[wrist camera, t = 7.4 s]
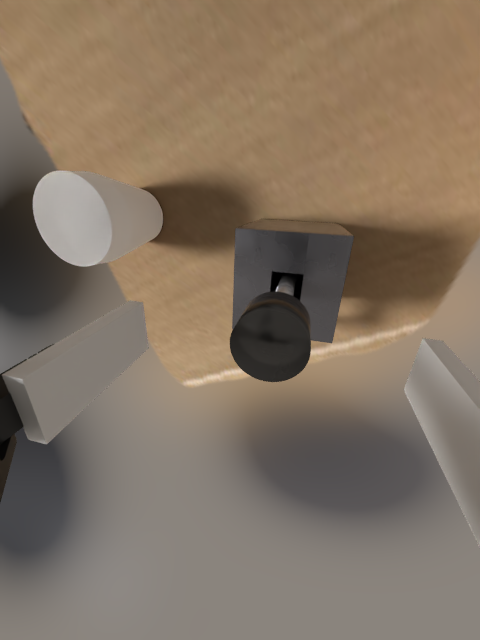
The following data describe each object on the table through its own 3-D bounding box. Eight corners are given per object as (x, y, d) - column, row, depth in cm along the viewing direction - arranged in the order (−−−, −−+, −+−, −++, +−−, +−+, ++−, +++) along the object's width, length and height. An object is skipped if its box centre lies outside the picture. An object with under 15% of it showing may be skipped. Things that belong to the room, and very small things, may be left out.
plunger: (267, 233, 31) (207, 278, 13) (325, 237, 30) (350, 293, 11) (263, 286, 34) (208, 388, 15) (316, 292, 32) (324, 410, 14)
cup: (181, 199, 35) (123, 198, 24) (160, 261, 39) (102, 284, 28) (120, 164, 35) (35, 148, 24) (105, 230, 39) (27, 241, 28)
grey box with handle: (261, 218, 33) (235, 228, 22) (338, 223, 32) (354, 235, 20) (255, 312, 38) (231, 360, 27) (320, 320, 37) (325, 376, 25)
